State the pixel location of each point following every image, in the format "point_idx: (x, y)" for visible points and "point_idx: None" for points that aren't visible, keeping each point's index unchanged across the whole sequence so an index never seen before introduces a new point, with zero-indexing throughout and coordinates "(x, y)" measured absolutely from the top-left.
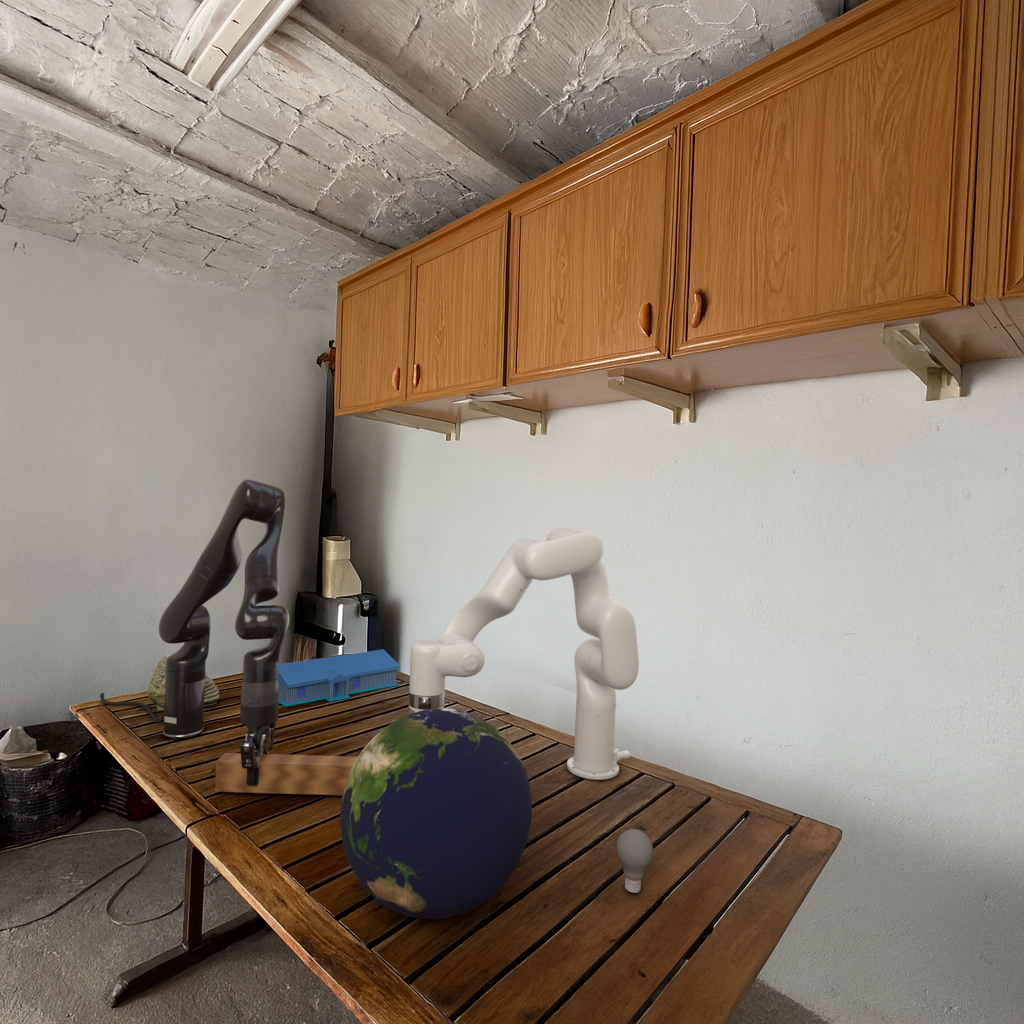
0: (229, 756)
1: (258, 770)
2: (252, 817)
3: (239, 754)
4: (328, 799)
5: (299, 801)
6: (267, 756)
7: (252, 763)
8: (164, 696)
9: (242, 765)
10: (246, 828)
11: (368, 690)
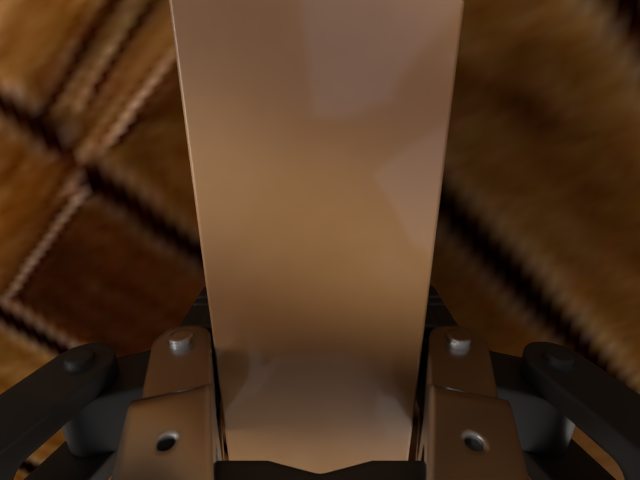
0: (338, 98)
1: None
2: (94, 319)
3: (401, 196)
4: None
5: None
6: (353, 448)
7: (39, 476)
8: None
9: (37, 376)
10: (6, 327)
11: None
